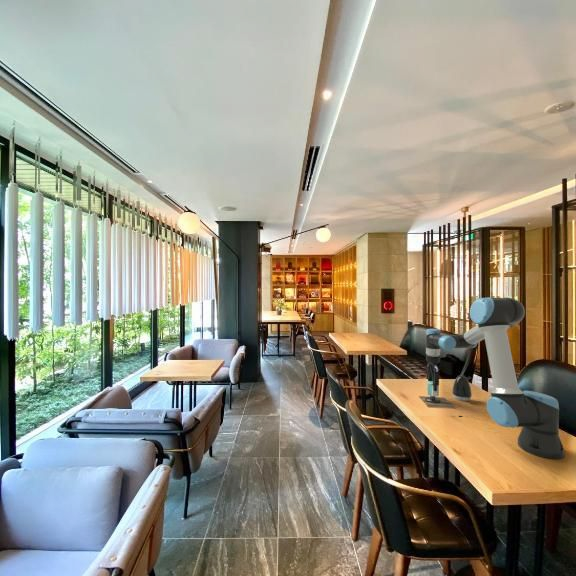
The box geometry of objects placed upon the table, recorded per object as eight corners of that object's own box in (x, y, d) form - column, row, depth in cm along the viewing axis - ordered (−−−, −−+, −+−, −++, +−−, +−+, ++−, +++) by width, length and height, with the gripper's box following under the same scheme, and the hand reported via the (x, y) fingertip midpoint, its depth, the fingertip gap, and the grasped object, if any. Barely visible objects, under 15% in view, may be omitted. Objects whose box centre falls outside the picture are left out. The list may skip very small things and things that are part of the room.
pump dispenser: (475, 403, 179) (475, 377, 179) (457, 403, 180) (457, 377, 180) (465, 397, 190) (466, 373, 190) (449, 397, 190) (449, 372, 190)
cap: (439, 396, 178) (440, 384, 178) (429, 396, 178) (429, 384, 178) (436, 393, 184) (436, 381, 184) (425, 392, 184) (425, 380, 184)
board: (456, 410, 169) (456, 408, 169) (428, 409, 171) (428, 407, 171) (443, 399, 187) (443, 397, 187) (418, 397, 188) (418, 396, 188)
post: (442, 403, 176) (442, 394, 176) (427, 402, 177) (428, 393, 177) (437, 398, 184) (437, 389, 184) (423, 398, 185) (423, 389, 185)
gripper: (446, 359, 171) (445, 400, 171) (433, 352, 190) (433, 389, 190) (432, 358, 172) (431, 399, 172) (421, 351, 191) (420, 388, 191)
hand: (432, 394), depth 181 cm, fingers closed on cap, 6 cm apart
